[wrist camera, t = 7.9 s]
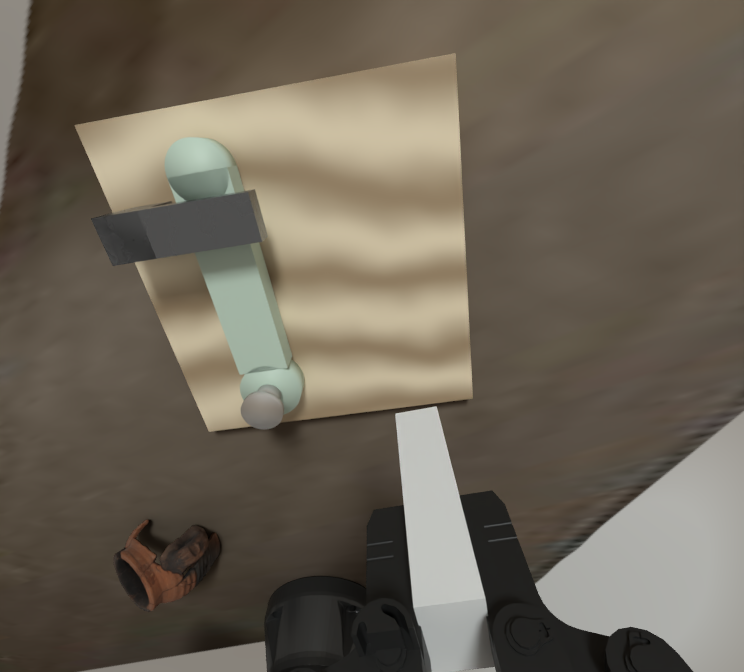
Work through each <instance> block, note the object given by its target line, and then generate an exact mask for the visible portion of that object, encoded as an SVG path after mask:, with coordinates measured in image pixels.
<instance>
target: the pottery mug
mask: <svg viewBox="0 0 744 672" xmlns="http://www.w3.org/2000/svg"><path fill="white" fill-rule="evenodd" d="M148 523H149V520H145V521H143V522H142V524H140V525H139V526H138V527H137V528H136V529H135V530H134V531H133V532H132V533H131V535H130V537H129V538H128V540H127V542H126V545H125V548H124V549H122V550H121V551H119V552H117V553H116V554H115V555H114V567H115V570H116V573H117V575H118V578H119V580H120V582H121V584H122V586H123V588H124V590H125V591H126V593H127V594H128V596H129V597H130V599H132V601H133V602H134V603H135V604H136V605H137V606H138V607H139V608H141V609H143V610H144V611H148V612H150V611H152V610H154V609H155V607H156V606H157V605H159V604H160V603H167V602H173V601H175V600H178V599H181V598H182V597H183V596H185V595H187V594H188V593H189V591H191V590H192V589H193V588H194V587H196V586H197V585H198V583H199V582H200V581H201V580H202V579H203V577H204V576H205V575H206V573H207V572H208V571H209V570H210V567H211V566H212V564H213V563H214V561H215V560H216V558H217V557H218V556H219V553H220V542H219V539H218V537H217V534H216V533H212V534H211V536H210V538H209V540H208V537H207V534H206V531H205V530H204V529H203V528H201V527H199V526H195V525H192V526H191V528H190V529H188V530H187V531H186V532H185V533H184V534H183V535H182V536H181V537H180V538H177V539H176V540H175V541H174V542H173V543H171V544H169V545H168V546H167V547H166V549H165V551H164V552H163V553H162V555H161V557H160V563H161V565H159V564H158V563H156V562H155V560H156V558H157V555H156V554H154V553H153V552H151V551H150V550H149V548H148V547H146V546H143V545H142V544H141V542H140V541H138V540H137V539H136V538H137V536H138V534H139V533H140V531H141V530H142V529H143V528H144V527H145V526H146V525H147V524H148ZM188 566H189V567H191V568H190V569H189V571H188V572H187V573H186V575H185V576H184V574H183V573H184V572H185V571H186V569H187V567H188Z"/></svg>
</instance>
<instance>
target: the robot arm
mask: <svg viewBox="0 0 744 672" xmlns="http://www.w3.org/2000/svg"><path fill="white" fill-rule="evenodd" d="M395 415H396V426H397V437H398V447H399V458H400V469H401V480H402V490H403V501H404V505H402V506H396V507H389V508H383V509H376V510H374V511H373V513H372V515H371V518H370V520H369V522H368V525H367V571H366V589H365V588H364V587H362V586H360V585H358V584H356V583H354V582H351V581H348V580H344V579H340V578H334V577H307V578H302V579H298V580H294V581H291V582H289V583H287V584H285V585H283V586H281V587H280V588H279V589H277V590H276V591H275V592H274V593H273V594H272V596H271V598H270V600H269V603H268V607H267V611H266V616H265V623H264V629H265V645H266V661H267V672H452V671H461V670H471V669H479V668H488V667H495V669H496V672H693V671H692V670H691V669H690V667H689V666H688V665H687V664H686V663H685V661H684V660H683V659H682V658H681V657H680V655H679V654H678V653H677V652H676V651H675V650H674V649H673V648H672V647H670V646H669V645H668V644H667V643H666V642H665V641H664V640H663V639H661V638H659V637H658V636H656V635H654V634H652V633H651V632H648V631H647V630H642V629H638V628H633V627H629V628H622V629H618V630H617V631H616V632H614V633H613V634H612V635H611V636H610V637H609V636H605V635H600V634H597V633H592V632H588V631H584V630H580V629H577V628H574V627H571V626H569V625H567V624H565V623H564V622H562V621H560V620H559V619H558V618H556V617H555V616H554V615H553V614H552V613H551V612H550V611H549V610H548V609H547V607H546V606H545V605H544V604H543V602H542V600H541V598H540V596H539V594H538V591H537V589H536V586H535V583H534V581H533V578H532V575H531V573H530V570H529V568H528V565H527V562H526V560H525V557H524V554H523V552H522V549H521V546H520V544H519V541H518V539H517V536H516V533H515V530H514V528H513V525H512V523H511V520H510V517H509V514H508V512H507V509H506V506H505V504H504V503H503V502H502V501H501V500H500V499H499V498H498V496H497V495H496V494H495V493H494V492H493V491H486V492H479V493H473V494H466V495H460V496H459V493H458V489H457V485H456V481H455V477H454V473H453V469H452V465H451V461H450V457H449V453H448V449H447V446H446V442H445V438H444V434H443V430H442V426H441V422H440V418H439V414H438V410H437V406H436V407H430V408H425V409H419V410H413V411H408V412H402V413H396V414H395Z"/></svg>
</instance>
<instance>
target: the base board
mask: <svg viewBox="0 0 744 672" xmlns="http://www.w3.org/2000/svg"><path fill="white" fill-rule="evenodd" d="M75 128H76V130H77V132H78V134H79V137H80V139H81V141H82V144H83V146H84V148H85V150H86V153H87V155H88V157H89V160H90V162H91V164H92V166H93V169H94V171H95V173H96V175H97V178H98V180H99V182H100V185H101V187H102V189H103V191H104V194H105V196H106V198H107V200H108V203H109V205H110V207H111V210H112V212H113V213H114V212H118V211H121V210H125V209H129V208H133V207H139V206H145V205H151V204H157V203H162V202H168V201H172V203H176V201H175V198H174V195H173V193H172V190H171V187H170V185H169V182H168V179H167V176H166V173H165V157H166V154H167V151H168V149H169V148H170V147H171V145H172V144H173V143H174V142H176V141H177V140H179V139H182V138H186V137H199V138H210V139H213V140H216V141H218V142H219V143H221V144H222V145H224V146H225V147H226V148H227V149H228V150H229V151H230V153H231V154H232V156H233V157H234V159H235V161H236V164H237V167H238V171H239V174H240V178H241V181H242V184H243V188H244V191H247V190H253V189H255V191H256V195H257V198H258V202H259V206H260V209H261V213H262V217H263V220H264V224H265V228H266V231H267V235H268V237H267V238H266V239H265V240H264V241H263V242H259V243H260V246H261V250H262V253H263V257H264V260H265V264H266V267H267V270H268V274H269V277H270V281H271V284H272V288H273V291H274V295H275V298H276V301H277V305H278V308H279V312H280V315H281V319H282V322H283V326H284V329H285V332H286V336H287V339H288V343H289V346H290V350H291V353H292V358H291V359H292V360H293V361H294V362H296V363H297V364H298V365H299V367H300V368H301V370H302V372H303V374H304V386H303V390H302V394H301V397H300V401H299V403H298V405H297V406H296V407H295V408H294V409H293V410H292V411H290V412H289V413H287V414H284V405H283V403H282V401H281V392H280V390H279V389H278V388H277V387H276V386H273V385H269V384H266V385H262V386H261V387H259V389H258V390H257V391H256V392H253V393H251V394H249V395H248V396H247V397H246V398H245V399H244V400H243V398H242V396H241V393H240V383H241V380H242V378H243V376H244V375H245V374H242V375H240V374H239V372H238V369H237V366H236V363H235V361H234V358H233V355H232V353H231V350H230V347H229V344H228V342H227V339H226V336H225V334H224V331H223V328H222V325H221V323H220V320H219V317H218V315H217V312H216V309H215V307H214V304H213V301H212V298H211V296H210V293H209V290H208V288H207V285H206V282H205V279H204V277H203V274H202V271H201V269H200V266H199V263H198V260H197V258H196V255H195V253H190V254H183V255H177V256H171V257H165V258H158V259H152V260H146V261H140V262H135V264H136V267H137V269H138V271H139V273H140V276H141V278H142V280H143V282H144V285H145V287H146V289H147V292H148V294H149V296H150V298H151V301H152V303H153V305H154V308H155V310H156V312H157V314H158V317H159V319H160V321H161V323H162V326H163V328H164V330H165V333H166V335H167V337H168V339H169V342H170V344H171V346H172V349H173V351H174V353H175V355H176V358H177V360H178V362H179V364H180V367H181V369H182V371H183V374H184V376H185V378H186V380H187V383H188V385H189V387H190V390H191V392H192V394H193V396H194V399H195V401H196V403H197V405H198V408H199V410H200V412H201V415H202V417H203V419H204V421H205V424H206V426H207V428H208V431H209V432H211V431H219V430H227V429H234V428H242V427H250V426H252V427H255V428H258V429H271V428H273V427H275V426H277V425H278V424H279V423H282V422H290V421H298V420H306V419H314V418H322V417H330V416H338V415H346V414H354V413H362V412H370V411H378V410H386V409H394V408H402V407H410V406H417V405H425V404H433V403H441V402H449V401H457V400H465V399H473V393H472V373H471V353H470V333H469V313H468V293H467V273H466V253H465V233H464V213H463V193H462V172H461V152H460V132H459V112H458V92H457V72H456V53H454V54H449V55H443V56H438V57H433V58H427V59H422V60H417V61H412V62H406V63H401V64H396V65H390V66H385V67H380V68H375V69H369V70H364V71H359V72H354V73H348V74H343V75H338V76H332V77H327V78H322V79H317V80H311V81H306V82H301V83H295V84H290V85H285V86H280V87H274V88H269V89H264V90H258V91H253V92H248V93H243V94H237V95H232V96H227V97H221V98H216V99H211V100H206V101H200V102H195V103H190V104H185V105H179V106H174V107H169V108H163V109H158V110H153V111H148V112H142V113H137V114H132V115H126V116H121V117H116V118H111V119H105V120H100V121H95V122H89V123H84V124H79V125H75ZM283 414H284V415H283Z"/></svg>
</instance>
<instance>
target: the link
mask: <svg viewBox="0 0 744 672" xmlns="http://www.w3.org/2000/svg"><path fill="white" fill-rule="evenodd" d="M165 173H166V176H167V179H168V182H169V185H170V187H171V190H172V193H173V195H174V198H175V201H176V203H177V202H183V201H189V200H195V199H201V198H206V197H212V196H218V195H224V194H230V193H236V192H242V191H244V188H243V184H242V181H241V178H240V174H239V171H238V167H237V164H236V161H235V159H234V157H233V156H232V154H231V153H230V151H229V150H228V149H227V148H226V147H225V146H224V145H222V144H221V143H219V142H218V141H216V140H213V139H210V138H199V137H186V138H182V139H179V140H177V141H176V142H174V143H173V144H172V145H171V147H170V148H169V149H168V151H167V154H166V157H165ZM195 255H196V258H197V260H198V263H199V266H200V269H201V271H202V274H203V277H204V279H205V282H206V285H207V288H208V290H209V293H210V296H211V298H212V301H213V304H214V307H215V309H216V312H217V315H218V317H219V320H220V323H221V325H222V328H223V331H224V334H225V336H226V339H227V342H228V344H229V347H230V350H231V353H232V355H233V358H234V361H235V363H236V366H237V369H238V372H239V374H240V375H242V374H245V375H244V376H243V378H242V380H241V383H240V393H241V396H242V398H243V400H244V399H245V398H246V397H247V396H248V395H249V394H251V393H253V392H256V391H257V390H258V389H259V387H261V386H262V385H266V384H269V385H273V386H276V387H277V388H278V389H279V390H280V392H281V401H282V403H283V405H284V414H287V413H289V412H290V411H292V410H293V409H294V408H295V407H296V406H297V405H298V403H299V401H300V397H301V394H302V390H303V386H304V374H303V372H302V370H301V368H300V367H299V365H298V364H297V363H296V362H294V361H293V360H292V359H291V358H292V353H291V350H290V346H289V343H288V339H287V336H286V332H285V329H284V326H283V322H282V319H281V315H280V312H279V308H278V305H277V301H276V298H275V295H274V291H273V288H272V284H271V281H270V277H269V274H268V270H267V267H266V264H265V260H264V257H263V253H262V250H261V246H260V243H259V242H258V243H252V244H246V245H239V246H233V247H227V248H221V249H214V250H208V251H202V252H196V253H195ZM284 414H283V415H284Z"/></svg>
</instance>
